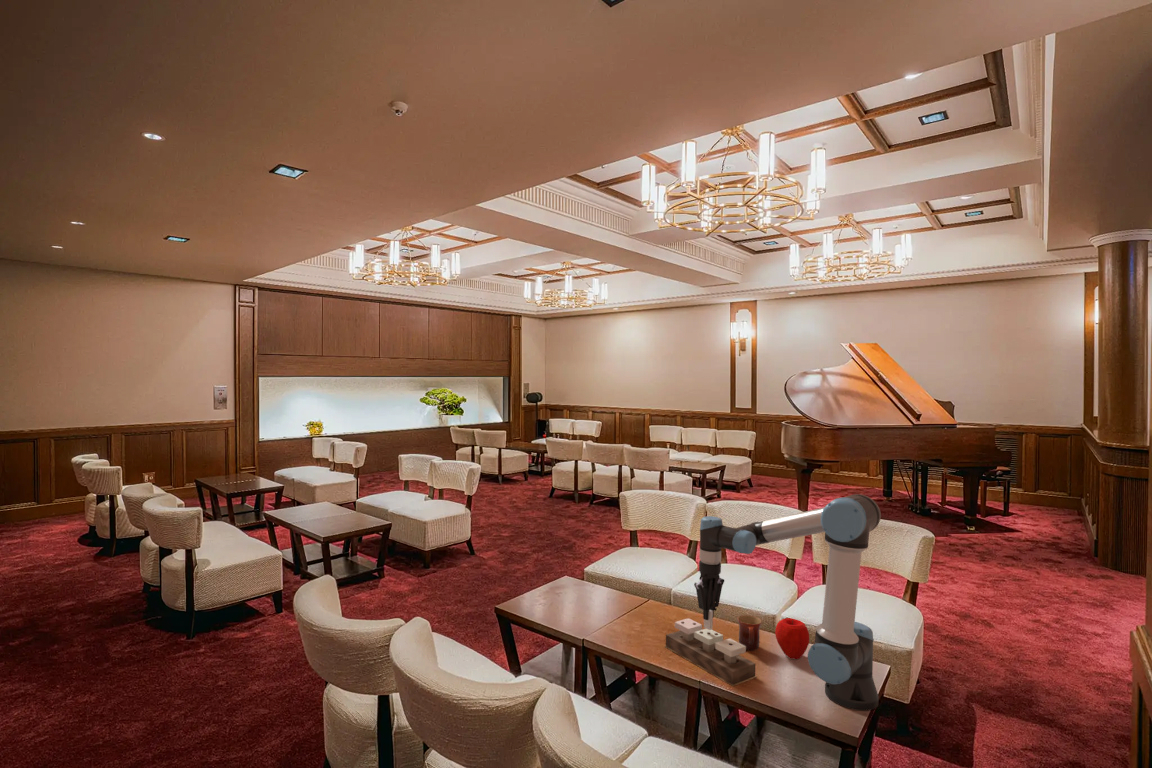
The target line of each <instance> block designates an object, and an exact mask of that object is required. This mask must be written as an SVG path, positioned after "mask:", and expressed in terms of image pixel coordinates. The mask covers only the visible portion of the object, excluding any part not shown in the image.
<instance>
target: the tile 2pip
mask: <svg viewBox="0 0 1152 768" xmlns="http://www.w3.org/2000/svg"><path fill="white" fill-rule="evenodd" d="M674 628H675V629H677V630H678V631H683V639H685V640H686V641H691V640H694V632H696V631H699V630H703V624H701V623H699V622H697V621H695V620H693V619H692V618H689V617H688V618H684V619H680V620H677V621H674Z"/></svg>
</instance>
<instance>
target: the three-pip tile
mask: <svg viewBox="0 0 1152 768" xmlns="http://www.w3.org/2000/svg"><path fill="white" fill-rule="evenodd" d="M694 638H696V639H698V640H700V641H702V642H703V650H705V651H707V652H712V651H714V644H715V643H717V642H720V641H723V640H724V634H722V633H720V632H717V631H715V630H713V628H712V629H711V630H708V629H706V628H702V630H699V631H696V632H694Z"/></svg>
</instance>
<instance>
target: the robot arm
mask: <svg viewBox="0 0 1152 768" xmlns="http://www.w3.org/2000/svg"><path fill="white" fill-rule="evenodd" d="M881 518H882V513H881V509H880V507H879V505H878V503H877V502H876V501H875V500H874V499H872V498H871V497H869V496H867V495H864V494H861V493H860V494H859V493H856V494H850V495H847V496H844V497H843V496H842V497H837V498H834V499H833V500H832V501H830V502H829V503H827V504H826V505H825V506H824V507H820V508H815V509H812V510H811V509H810V510H807V511H803V512H797V513H792V514H788V515H783V516H781V517H775V518H770V519H765V520H760V521H755V522H751V523H749V524H746V525H742V526H738V527H731V526H726V525H724V524H723V519H722V518H721V517H718V516H712V515H711V516H709V515H707V516H703V517H702V518H701V519H700V526H699V527H700V528H699V538H700V539H699V558H698V559H699V562H698V571H699V573H700V576H699V581H698V582H694V588H695V591H696V599H697V604H698V608H699V609H701V610H702V611H703V613H702V614H703V615H702V618H703V629H708V630H711V629H712V630H713V623H714V621H713V620H714V617H715V615H714V614H715V613H714V612H716V611H717V608H718V607H719V606H720V605H719V604H720V599H721V595H722V590H723V585H724V584H725V579H724V578H721V576H720V574H721V572H722V571H721V570H722V563H721V562H722V549H725V550H728V551H733V552H737V553H739V554H746V555H750V554H752V553H753V551H755V548H756V546H760V545H764V544H769V543H773V542H779V541H785V540H790V539H795V538H801V537H805V536H806V537H807V536H811V535H817V534H822V533H824V541H825V542H826V544H827V545H829V546H828V547H829V548H828V558H827V566H826V570H827V571H826V579H825V588H824V589H825V590H824V597H823V598H824V599H823V610H822V620H821V623H820V624H819V625H817V626H816V628H815V633H814V634H815V635H814V643H813V644H812V645H810V648H809V650H808V651H807V661H808V664H809V667H810V669H811V670H812V671H813V673H814V674H815V675H816V677H818V678H819V679H820V680H822V681H823V682H825V683H824V693H825V695H826V697H827V698H828V699H829V700H831V701H832V702H834V703H836V704H837V705H840V706H842V707H844V708H847V709H850V710H856V711H871V710H874V709H876V708H877V707H878V706H879V700H880V699H879V693H878V691H877V688H876V685H875V684H876V683H875V680H874V677H873V671H874V670H873V667H874V665H873V664H874V640H875V638H874V633H873V630H872V628H871V627H869V626H868V625H865V624H863V623H860V622H857V621H856V613H857V611H856V610H857V600H858V591H859V582H860V573H861V561H862V553H863V552H864V551H866V550H867V549H868V548H869V542H870V541H869V540H870V532H872V531H873V530H875V529H876V528H877V527H878V526H879V525H880V522H881Z"/></svg>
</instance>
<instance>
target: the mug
mask: <svg viewBox="0 0 1152 768" xmlns="http://www.w3.org/2000/svg"><path fill="white" fill-rule="evenodd" d="M737 622H738V643H740V644H742V645H744V646H746V651H750V652H751V651H757V650H758V649H759V647H760V643H761V642H760V629H761V626H762V623H763V622H762V619H761V618H759V617H756V616H754V615H750V614H749V615H747V614H743V615H739V616H737Z"/></svg>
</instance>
